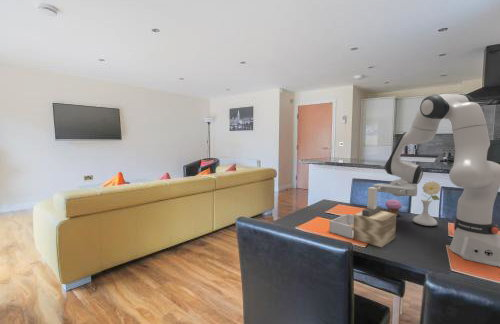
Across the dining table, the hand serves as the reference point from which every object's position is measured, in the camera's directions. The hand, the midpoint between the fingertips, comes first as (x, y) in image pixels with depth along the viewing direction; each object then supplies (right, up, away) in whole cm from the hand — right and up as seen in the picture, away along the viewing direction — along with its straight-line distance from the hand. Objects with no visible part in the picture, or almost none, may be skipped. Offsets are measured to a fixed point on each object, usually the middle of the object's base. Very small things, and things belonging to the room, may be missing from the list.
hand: (388, 191), depth 129 cm
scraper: (-11, -10, -5) cm, 16 cm away
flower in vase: (+28, -21, +14) cm, 38 cm away
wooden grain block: (-10, -22, -6) cm, 25 cm away
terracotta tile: (-16, -19, +6) cm, 25 cm away
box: (-18, -21, +4) cm, 28 cm away
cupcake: (+20, -19, +31) cm, 42 cm away
